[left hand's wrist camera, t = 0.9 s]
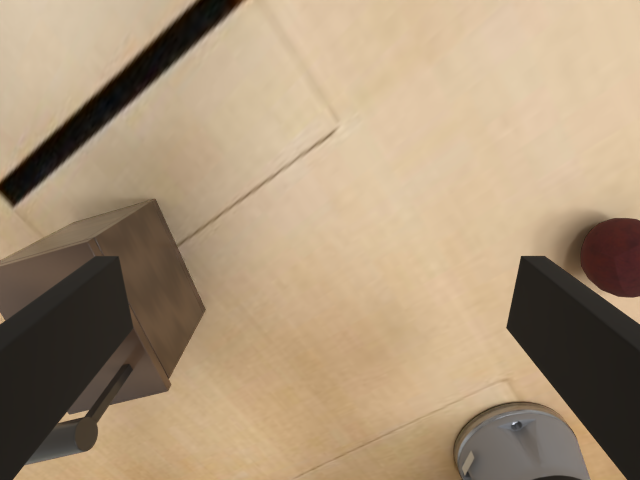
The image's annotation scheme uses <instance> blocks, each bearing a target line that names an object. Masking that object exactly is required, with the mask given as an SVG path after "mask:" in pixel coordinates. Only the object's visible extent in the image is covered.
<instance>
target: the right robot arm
mask: <svg viewBox="0 0 640 480" xmlns="http://www.w3.org/2000/svg"><path fill="white" fill-rule="evenodd" d="M454 459H455V462H456V465H457V468H458V470H459V473H460V475H461V478H462V479H463V480H590V477H589V474H588V471H587V468H586V465H585V462H584V459H583V456H582V453H581V450H580V447H579V444H578V441H577V438H576V436H575V434H574V432H573V431H572V429H571V428H570V427H569V425H568V424H567V423H566V421H565V420H564V419H563V418H562V417H561V416H560V415H559V414H558V413H557V412H555V411H554V410H552V409H550V408H548V407H545V406H543V405H539V404H534V403H510V404H505V405H500V406H497V407H494V408H492V409H489V410H487V411H485V412H483V413H481V414H480V415H478V416H477V417H475V418H474V419H473V420H471V421H470V422H469V423H468V424H467V425H466V426H465V427H464V428H463V429H462V431H461V432H460V434H459V436H458V438H457V440H456V443H455V446H454Z"/></svg>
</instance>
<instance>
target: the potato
mask: <svg viewBox="0 0 640 480" xmlns="http://www.w3.org/2000/svg"><path fill="white" fill-rule="evenodd" d="M581 267H582V268H583V270H584V272H585V274H586V275H587V277H588V278H589V280H591V281H592V282H593V283H594V284H595V285H596V286H597V287H598V288H600V289H601V290H603V291H606V292H608V293H611V294H613V295H616V296H618V297H638V296H640V221H639V220H637V219H630V218H614V219H610V220H607V221H604V222H601V223H599V224H598V225H597V226H595V227H594V228H593V229H591V231H590V232H589V233H588V235H587V236H586V238H585V240H584V243H583V246H582V249H581Z"/></svg>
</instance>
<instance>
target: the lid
mask: <svg viewBox="0 0 640 480" xmlns="http://www.w3.org/2000/svg"><path fill="white" fill-rule="evenodd" d="M95 256H103V255H102V253H101V251H100V249H99V247H98V245H97V244H96V242H95V240H94V238H91V239H88V240H84V241H81V242H77V243H74V244H70V245H67V246H63V247H60V248H56V249H53V250H49V251H46V252H42V253H39V254H35V255H32V256H28V257H25V258H21V259H18V260H14V261H11V262H7V263H3V264H0V313H1V314H2V316H3V317H4V319H5V320H7V319H9V318H10V317H11V316H13V315H14V314H16V313H17V312H18V311H20V310H21V309H23V308H24V307H25V306H27V305H28V304H29V303H31V302H32V301H34V300H35V299H36V298H38V297H39V296H41V295H42V294H43V293H45V292H46V291H48V290H49V289H50V288H52V287H53V286H54V285H56V284H57V283H59V282H60V281H61V280H63V279H64V278H66V277H67V276H68V275H70V274H71V273H72V272H74V271H75V270H77V269H78V268H79V267H81V266H82V265H84V264H85V263H86V262H88V261H89V260H91V259H92V258H93V257H95ZM129 308H130V313H131V318H132V323H133V327H134V328H133V329H132V331H131V332H130V333H129V334H128V336H127V337H126V338H125V339H124V341H123V342H122V343H121V344H120V346H119V347H118V348H117V349H116V351H115V352H114V353H113V354H112V356H111V357H110V358H109V360H108V361H107V362H106V363H105V365H104V366H103V367H102V368H101V370H100V371H99V372H98V373H97V375H96V376H95V377H94V378H93V380H92V381H91V382H90V383H89V385H88V386H87V387H86V388H85V390H84V391H83V392H82V393H81V395H80V396H79V397H78V398H77V400H76V401H75V402H74V403H73V405H72V406H71V407H70V408H69V410H68V411H67V412H68V414H74V413H78V412H82V411H86V410H89V411H88V413H87V414H86V416H85V417H83V418H78V419H74V420H70V421H66V422H61V423H57V425H56V426H55V427H54V429H53V430H52V431H51V432H50V434H49V435H48V436H47V437H46V439H45V440H44V441H43V442H42V444H41V445H40V446H39V447H38V449H37V450H36V451H35V452H34V454H33V455H32V456H31V457H30V459H29V460H28V461H27V462H26V464H25V465H28V464H32V463H37V462H41V461H46V460H50V459H54V458H59V457H63V456H68V455H72V454H77V453H81V452H85V451H88V450H90V449H91V448H92V447H93V446H94V444H95V442H96V440H97V436H98V427H97V422H98V421H99V419H100V418H101V416H102V415H103V414H104V412H105V411H106V409H107V408H108V406H109V405H112V404H116V403H120V402H124V401H129V400H133V399H137V398H141V397H146V396H150V395H154V394H158V393H163V392H167V391H168V390H169V388H170V386H171V383H170V381H169V379H168V377H167V375H166V373H165V371H164V370H163V368H162V366H161V364H160V362H159V360H158V358H157V356H156V355H155V353H154V351H153V349H152V347H151V345H150V343H149V341H148V339H147V338H146V336H145V334H144V332H143V330H142V328H141V326H140V324H139V323H138V321H137V319H136V317H135V315H134V313H133V311H132V309H131V307H130V306H129Z"/></svg>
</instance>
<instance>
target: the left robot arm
mask: <svg viewBox="0 0 640 480" xmlns="http://www.w3.org/2000/svg"><path fill="white" fill-rule="evenodd" d="M133 328H134V327H133V323H132V318H131V313H130V308H129V303H128V298H127V293H126V289H125V284H124V279H123V274H122V269H121V264H120V259H119V256H95V257H93V258H92V259H91V260H89V261H88V262H86V263H85V264H84V265H82V266H81V267H79V268H78V269H77V270H75V271H74V272H72V273H71V274H70V275H68V276H67V277H66V278H64V279H63V280H61V281H60V282H59V283H57V284H56V285H54V286H53V287H52V288H50V289H49V290H48V291H46V292H45V293H43V294H42V295H41V296H39V297H38V298H36V299H35V300H34V301H32V302H31V303H29V304H28V305H27V306H25V307H24V308H23V309H21V310H20V311H18V312H17V313H16V314H14V315H13V316H11V317H10V318H9V319H7V320H6V321H5V322H3V323H2V324H0V480H13V479H14V477H15V476H16V475H17V474H18V472H19V471H20V470H21V469H22V467H23V466H24V465H25V464H26V462H27V461H28V460H29V459H30V457H31V456H32V455H33V454H34V452H35V451H36V450H37V449H38V447H39V446H40V445H41V444H42V442H43V441H44V440H45V439H46V437H47V436H48V435H49V434H50V432H51V431H52V430H53V429H54V427H55V426H56V425H57V423H58V422H59V421H60V420H61V418H62V417H63V416H64V415H65V413H66V412H67V411H68V410H69V408H70V407H71V406H72V405H73V403H74V402H75V401H76V400H77V398H78V397H79V396H80V395H81V393H82V392H83V391H84V390H85V388H86V387H87V386H88V385H89V383H90V382H91V381H92V380H93V378H94V377H95V376H96V375H97V373H98V372H99V371H100V370H101V368H102V367H103V366H104V365H105V363H106V362H107V361H108V360H109V358H110V357H111V356H112V354H113V353H114V352H115V351H116V349H117V348H118V347H119V346H120V344H121V343H122V342H123V341H124V339H125V338H126V337H127V336H128V334H129V333H130V332H131V331H132V329H133ZM506 328H507V329H508V331H509V332H510V333H511V334H512V336H513V337H514V338H515V339H516V341H517V342H518V343H519V344H520V346H521V347H522V348H523V349H524V351H525V352H526V353H527V354H528V356H529V357H530V358H531V360H532V361H533V362H534V363H535V365H536V366H537V367H538V368H539V370H540V371H541V372H542V373H543V375H544V376H545V377H546V378H547V380H548V381H549V382H550V383H551V385H552V386H553V387H554V388H555V390H556V391H557V392H558V393H559V395H560V396H561V397H562V398H563V400H564V401H565V402H566V403H567V405H568V406H569V407H570V408H571V410H572V411H573V412H574V413H575V415H576V416H577V417H578V418H579V420H580V421H581V422H582V423H583V425H584V426H585V427H586V429H587V430H588V431H589V432H590V434H591V435H592V436H593V437H594V439H595V440H596V441H597V442H598V444H599V445H600V446H601V447H602V449H603V450H604V451H605V452H606V454H607V455H608V456H609V457H610V459H611V460H612V461H613V462H614V464H615V465H616V466H617V467H618V469H619V470H620V471H621V472H622V474H623V475H624V476H625V477H626V479H627V480H640V324H638V323H637V322H635V321H634V320H633V319H631V318H630V317H629V316H627V315H626V314H624V313H623V312H622V311H620V310H619V309H617V308H616V307H615V306H613V305H612V304H611V303H609V302H608V301H606V300H605V299H604V298H602V297H601V296H599V295H598V294H597V293H595V292H594V291H592V290H591V289H590V288H588V287H587V286H586V285H584V284H583V283H581V282H580V281H579V280H577V279H576V278H574V277H573V276H572V275H570V274H569V273H568V272H566V271H565V270H563V269H562V268H561V267H559V266H558V265H556V264H555V263H554V262H552V261H551V260H549V259H548V258H547V257H545V256H521V259H520V264H519V269H518V274H517V279H516V284H515V289H514V293H513V298H512V303H511V308H510V313H509V318H508V323H507V327H506Z"/></svg>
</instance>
